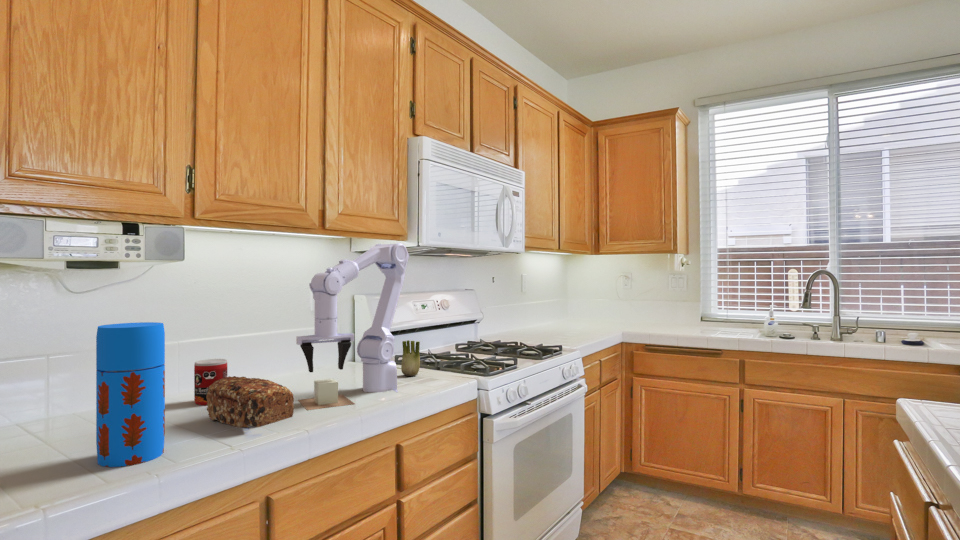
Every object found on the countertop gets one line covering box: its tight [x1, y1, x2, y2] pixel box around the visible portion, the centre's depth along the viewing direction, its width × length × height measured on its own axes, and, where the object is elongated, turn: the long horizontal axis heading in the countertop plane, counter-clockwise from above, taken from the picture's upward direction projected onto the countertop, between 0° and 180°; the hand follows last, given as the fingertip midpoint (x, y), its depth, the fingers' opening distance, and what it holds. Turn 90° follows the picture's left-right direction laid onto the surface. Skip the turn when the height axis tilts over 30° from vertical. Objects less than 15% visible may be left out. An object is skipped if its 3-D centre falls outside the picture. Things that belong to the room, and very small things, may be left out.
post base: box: [297, 394, 356, 411], centre depth 137 cm, size 12×12×5 cm
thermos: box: [95, 321, 166, 468], centre depth 99 cm, size 11×11×25 cm
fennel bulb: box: [400, 340, 421, 377], centre depth 176 cm, size 6×5×12 cm
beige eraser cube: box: [313, 378, 339, 405], centre depth 137 cm, size 5×5×5 cm
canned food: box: [193, 358, 228, 406], centre depth 141 cm, size 8×8×11 cm
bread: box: [206, 375, 295, 429], centre depth 123 cm, size 19×11×10 cm, turn 60°
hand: (325, 370), depth 137 cm, fingers open, 7 cm apart
